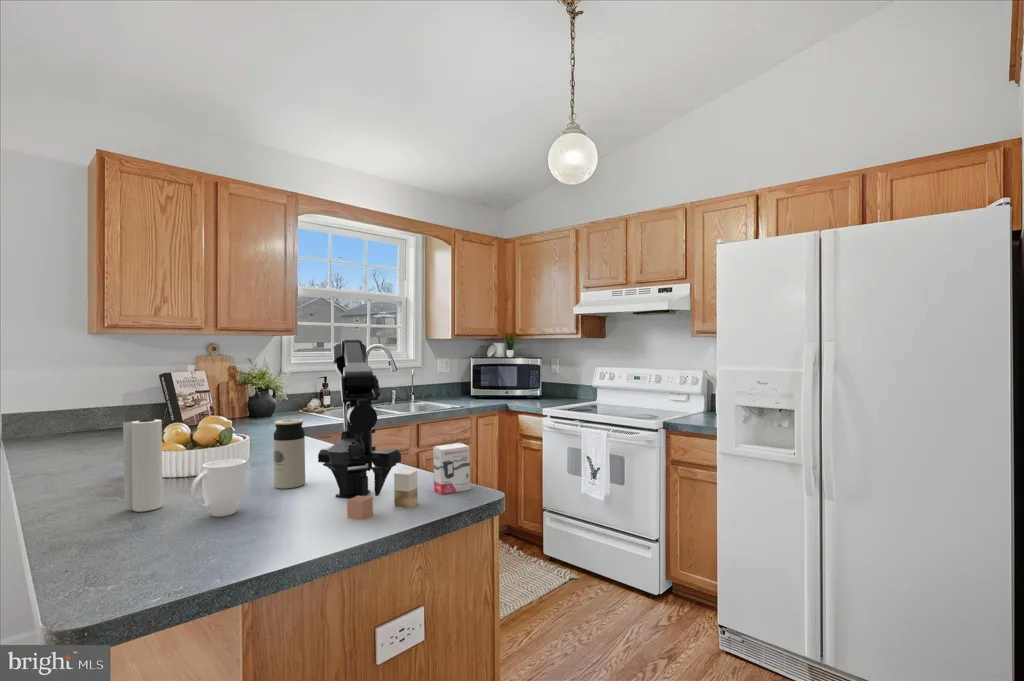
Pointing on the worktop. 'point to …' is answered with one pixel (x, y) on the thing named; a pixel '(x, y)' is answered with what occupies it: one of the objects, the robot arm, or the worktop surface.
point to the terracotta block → (359, 507)
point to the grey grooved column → (142, 465)
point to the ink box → (451, 468)
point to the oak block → (406, 498)
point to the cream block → (405, 480)
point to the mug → (221, 486)
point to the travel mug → (289, 454)
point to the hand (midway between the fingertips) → (359, 494)
